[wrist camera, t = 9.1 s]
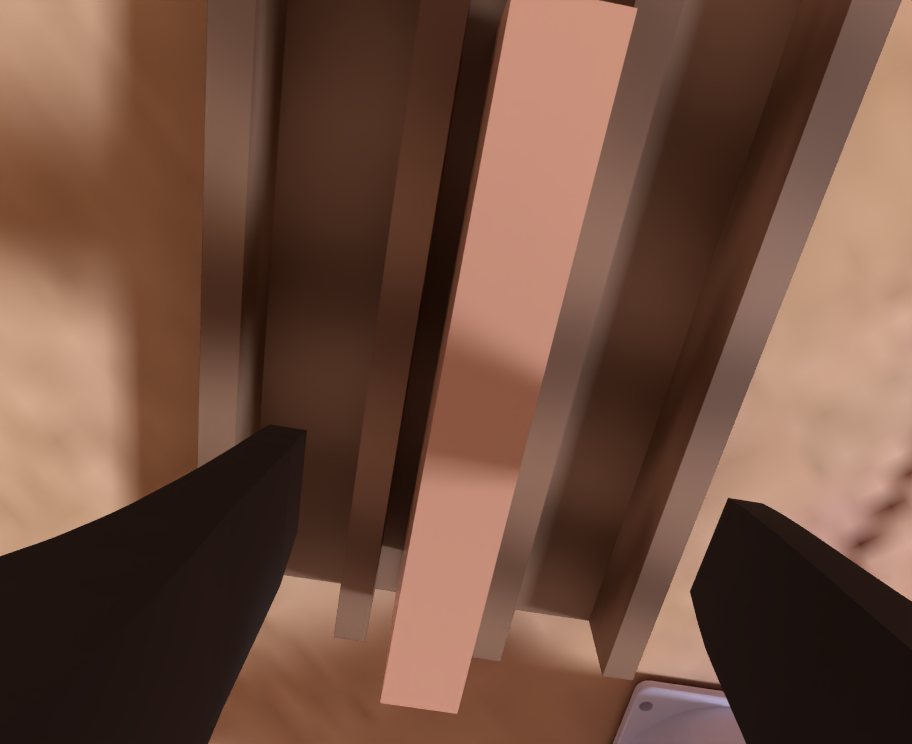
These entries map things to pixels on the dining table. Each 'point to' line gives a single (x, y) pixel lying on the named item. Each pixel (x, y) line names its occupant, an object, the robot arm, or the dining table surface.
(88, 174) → the dining table surface
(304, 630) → the dining table surface
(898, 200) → the dining table surface
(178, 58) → the dining table surface
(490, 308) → the clay strip
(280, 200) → the slatted brown panel
